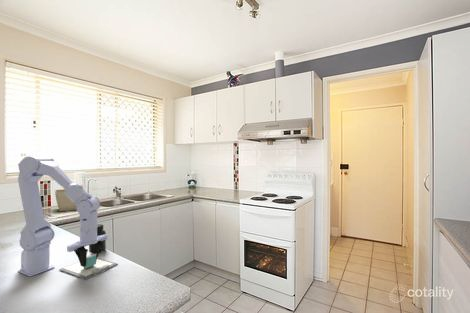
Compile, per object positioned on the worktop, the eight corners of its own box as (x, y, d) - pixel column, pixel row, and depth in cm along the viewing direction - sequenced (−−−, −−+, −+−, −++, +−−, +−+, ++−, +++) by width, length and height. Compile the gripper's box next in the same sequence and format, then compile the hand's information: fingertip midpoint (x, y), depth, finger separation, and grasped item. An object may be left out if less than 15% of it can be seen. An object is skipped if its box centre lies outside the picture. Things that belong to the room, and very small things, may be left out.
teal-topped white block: (81, 268, 89) (81, 255, 89) (90, 264, 92) (90, 252, 92) (86, 270, 88) (87, 257, 88) (96, 266, 91) (96, 253, 91)
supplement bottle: (108, 248, 111) (108, 223, 112) (100, 254, 105) (101, 227, 105) (94, 248, 111) (94, 223, 111) (85, 254, 104) (85, 227, 104)
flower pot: (80, 206, 212) (80, 188, 212) (83, 209, 197) (83, 190, 198) (54, 209, 200) (54, 189, 200) (55, 213, 185) (55, 192, 185)
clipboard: (59, 270, 89) (59, 267, 89) (92, 257, 101) (92, 254, 101) (85, 279, 82) (85, 276, 82) (117, 264, 94) (117, 261, 94)
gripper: (75, 235, 82) (75, 274, 82) (112, 225, 95) (112, 258, 95) (63, 233, 85) (63, 270, 85) (101, 223, 98) (101, 255, 98)
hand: (88, 263), depth 90 cm, fingers closed on teal-topped white block, 4 cm apart
